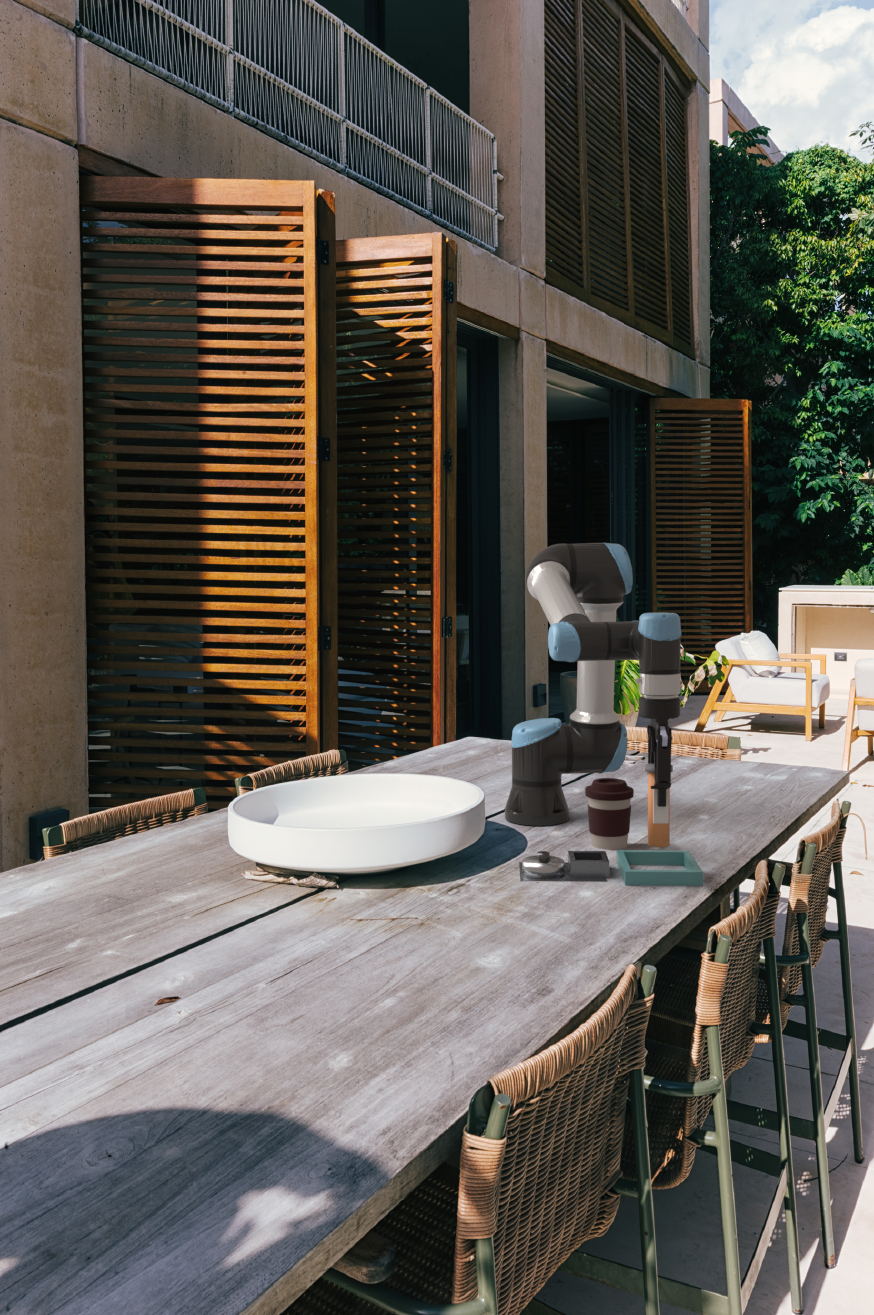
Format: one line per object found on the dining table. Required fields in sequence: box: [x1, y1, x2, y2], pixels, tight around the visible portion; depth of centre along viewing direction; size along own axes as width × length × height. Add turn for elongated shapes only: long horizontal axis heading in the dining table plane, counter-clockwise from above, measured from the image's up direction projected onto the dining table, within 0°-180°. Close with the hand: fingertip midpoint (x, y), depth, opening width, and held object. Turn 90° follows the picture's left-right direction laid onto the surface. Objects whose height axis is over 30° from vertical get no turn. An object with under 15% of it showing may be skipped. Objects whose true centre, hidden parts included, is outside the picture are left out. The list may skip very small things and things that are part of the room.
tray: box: [615, 849, 704, 887], centre depth 192 cm, size 14×14×4 cm
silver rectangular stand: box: [518, 850, 610, 883], centre depth 194 cm, size 12×17×5 cm
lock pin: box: [644, 763, 674, 848], centre depth 190 cm, size 5×5×15 cm
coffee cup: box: [584, 777, 635, 851], centre depth 212 cm, size 10×10×15 cm
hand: (658, 819), depth 191 cm, fingers closed on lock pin, 4 cm apart
